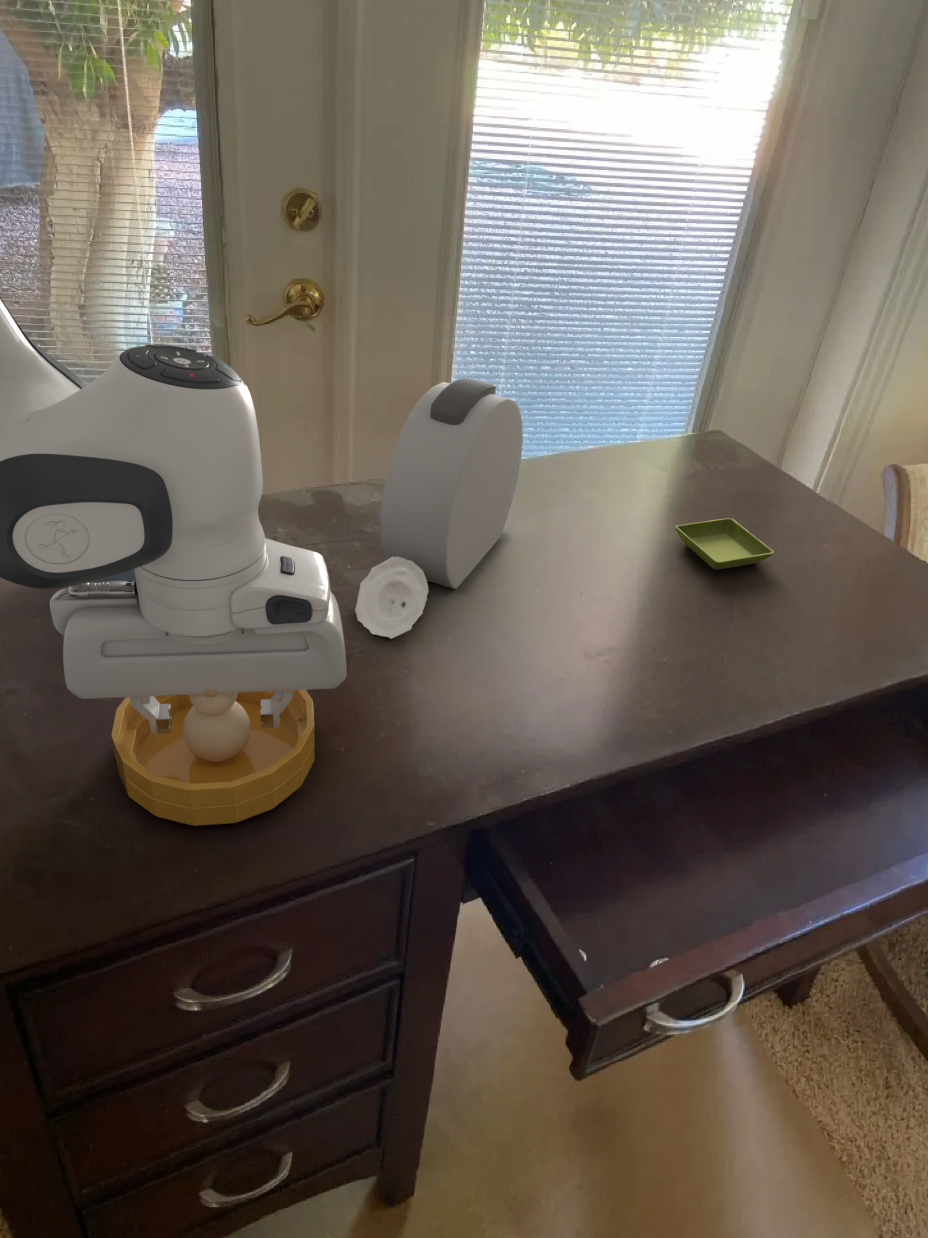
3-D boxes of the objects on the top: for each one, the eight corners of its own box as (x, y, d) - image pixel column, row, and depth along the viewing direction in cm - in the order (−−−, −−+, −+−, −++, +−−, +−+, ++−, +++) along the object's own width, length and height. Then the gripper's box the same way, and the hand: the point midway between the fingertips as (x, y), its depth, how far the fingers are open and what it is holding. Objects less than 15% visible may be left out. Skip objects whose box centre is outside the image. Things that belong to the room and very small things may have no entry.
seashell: (405, 650, 92) (456, 617, 87) (367, 652, 88) (418, 617, 83) (382, 582, 94) (431, 546, 90) (344, 580, 90) (393, 542, 86)
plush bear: (183, 777, 70) (172, 693, 64) (188, 732, 74) (178, 649, 69) (251, 773, 70) (245, 690, 65) (252, 728, 75) (247, 647, 70)
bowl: (107, 837, 65) (98, 795, 62) (133, 700, 77) (126, 659, 74) (317, 823, 68) (317, 782, 65) (310, 692, 80) (310, 653, 77)
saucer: (727, 531, 112) (731, 516, 111) (771, 567, 105) (776, 552, 104) (669, 540, 108) (673, 525, 107) (712, 578, 102) (716, 563, 101)
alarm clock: (457, 505, 111) (472, 349, 99) (513, 521, 109) (535, 364, 97) (376, 587, 94) (383, 411, 83) (439, 608, 92) (456, 431, 81)
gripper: (34, 610, 58) (70, 761, 66) (350, 603, 62) (347, 746, 70) (53, 558, 63) (84, 705, 71) (344, 554, 67) (342, 694, 75)
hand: (217, 725), depth 70 cm, fingers open, 7 cm apart
